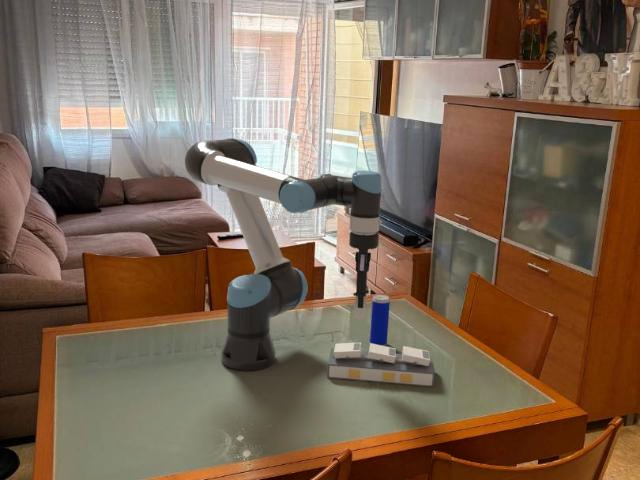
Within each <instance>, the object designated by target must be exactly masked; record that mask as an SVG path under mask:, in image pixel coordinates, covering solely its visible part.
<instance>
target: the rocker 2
mask: <svg viewBox="0 0 640 480" xmlns="http://www.w3.org/2000/svg"><path fill="white" fill-rule="evenodd" d="M368 347H369V348H368V351H369V355H368V358H372V359H376V360H379V361H380V362H383V361H386V362H390V363H394V362H395V358H396V354H397V353H396V348H395V347H390V346H386V345H385V346H381V345H377V344H372V343H370V342H369V346H368Z"/></svg>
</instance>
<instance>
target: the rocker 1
mask: <svg viewBox="0 0 640 480" xmlns="http://www.w3.org/2000/svg"><path fill="white" fill-rule="evenodd" d="M333 349H334V358H346V359H349V358H353V357H361V351H362V349H363V348H362V342H344V343H343V342H342V343H341V342H339V343H335V345H334V348H333Z"/></svg>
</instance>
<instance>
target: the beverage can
mask: <svg viewBox="0 0 640 480" xmlns="http://www.w3.org/2000/svg"><path fill="white" fill-rule="evenodd" d="M371 301H372V303H371V316H370V317H371V319H370V336H369V344H370V343H372V344H377V345H381V346H386V345H388V331H389V319H390V317H389V316H390V302H391V300H390V297H389V296H388V295H385V294H375V295H373V297H372V300H371Z"/></svg>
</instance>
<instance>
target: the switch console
mask: <svg viewBox="0 0 640 480" xmlns="http://www.w3.org/2000/svg"><path fill="white" fill-rule="evenodd" d="M334 349H335V348H331V349H330V353H329V357H328V361H327V369H326V370H327V374H326V375H327V377H326V378H327V379H328V378H329V379H338V380H348V381H359V382H360V381H361V382H371V383H372V382H373V383H374V382H375V383H383V384H384V383H386V384H393V385H394V384H395V385H396V384H397V385H407V386H418V387H430V388H431V387H432V388H434V386H435V385H434V383H435V375H436V374H435V365H434V360H433V359H434V358H433V356H430V362H429V366H425V365H420V364H417V365H414V364H413V363H411V362H406V361H402V353H396V358H395V362H394V363H390V362H386V361H383V362H380V361H379V360H376V359H372V358H368V355H369V350H368V351H367V350H361V357H353V358H349V359H346V358H334Z"/></svg>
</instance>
